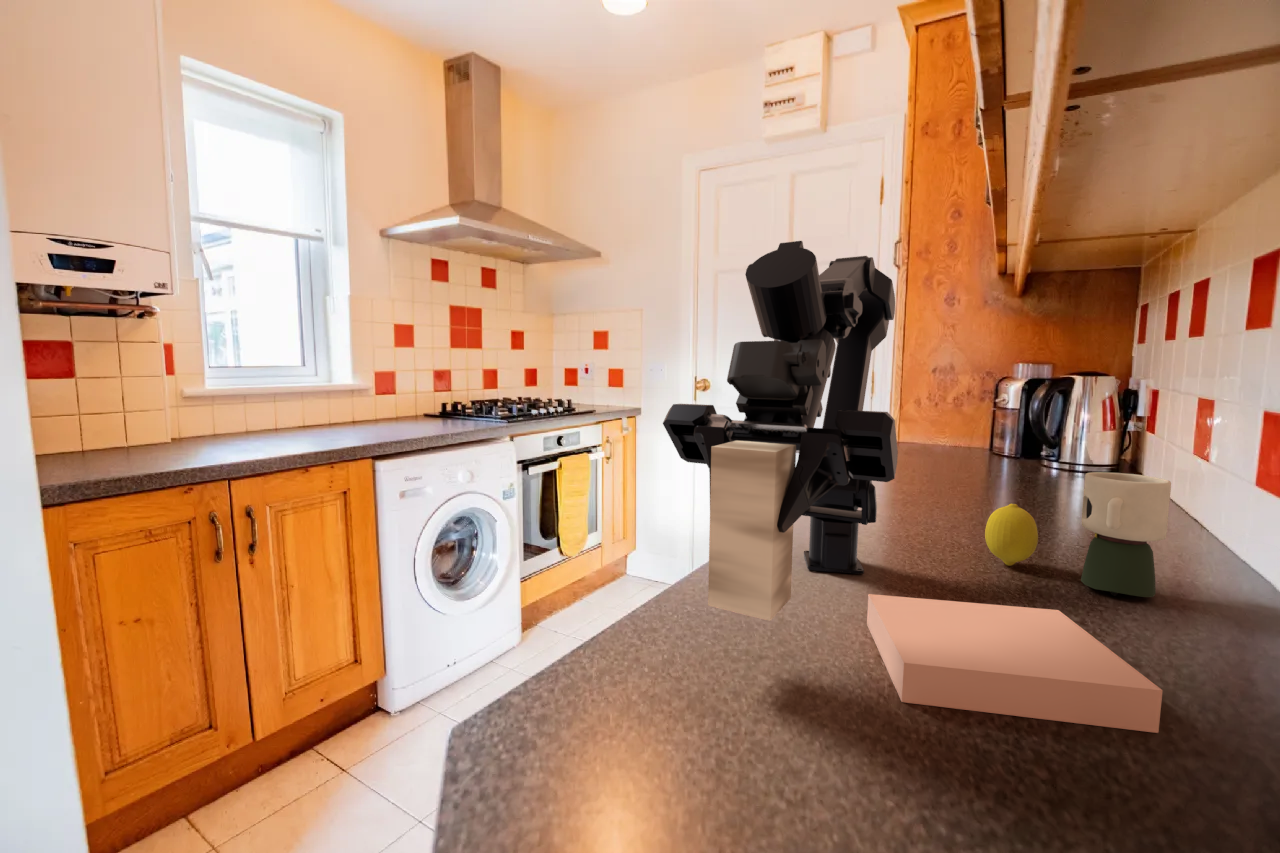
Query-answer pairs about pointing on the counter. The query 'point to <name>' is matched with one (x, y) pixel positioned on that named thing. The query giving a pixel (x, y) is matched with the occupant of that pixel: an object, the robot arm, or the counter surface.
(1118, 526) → the character mug
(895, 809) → the counter surface
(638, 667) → the counter surface
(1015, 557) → the lemon
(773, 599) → the birch block
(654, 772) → the counter surface
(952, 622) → the terracotta stand
